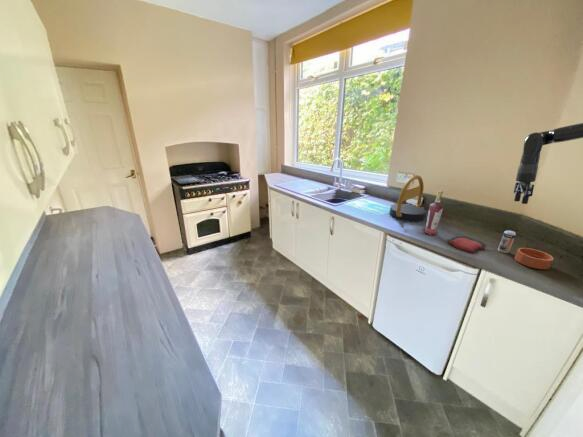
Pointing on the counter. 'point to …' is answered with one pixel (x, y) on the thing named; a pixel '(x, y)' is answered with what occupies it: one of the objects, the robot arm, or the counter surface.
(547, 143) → the robot arm
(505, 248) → the beer can
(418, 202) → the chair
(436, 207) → the liquor
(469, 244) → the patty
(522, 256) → the bowl
